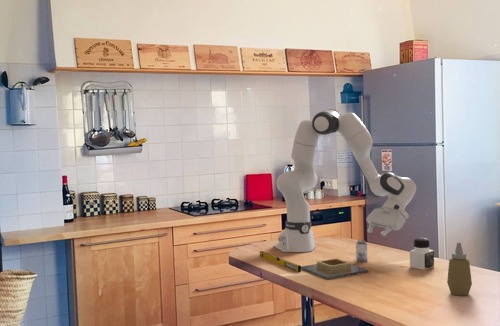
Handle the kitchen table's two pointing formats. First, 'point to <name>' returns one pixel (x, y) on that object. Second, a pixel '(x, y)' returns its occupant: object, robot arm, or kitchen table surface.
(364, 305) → the kitchen table surface
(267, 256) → the spirit level
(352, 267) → the collar plate
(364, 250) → the domed metal canister
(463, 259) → the squeeze bottle
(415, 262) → the medicine bottle
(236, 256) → the kitchen table surface
